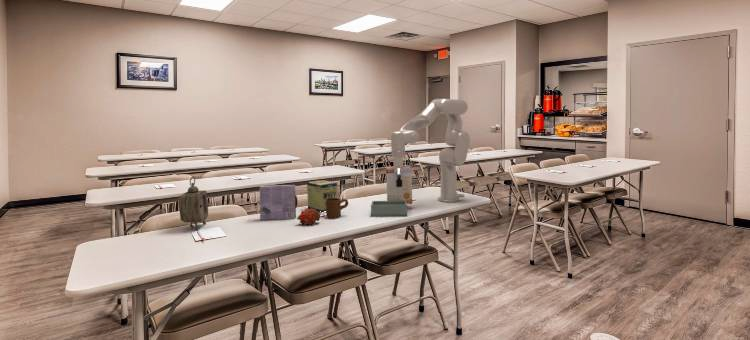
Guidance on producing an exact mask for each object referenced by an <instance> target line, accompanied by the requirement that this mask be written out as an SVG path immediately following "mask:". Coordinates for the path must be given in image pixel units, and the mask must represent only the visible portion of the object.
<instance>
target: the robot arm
mask: <svg viewBox="0 0 750 340" xmlns="http://www.w3.org/2000/svg"><path fill="white" fill-rule="evenodd" d="M468 108H469V107H468V102H466V101H465V100H464V99H457V98H456V99H455V98H454V99H453V98H435V99H433V100H431V102H429V103H428V105H426V107H425V108H424V109H423V110H422V111H421V112H420V114H418V115H416V116H415V117H413V118H411V119H410V120H409V121H407V122H406V123H405V124H403V125H402V127H401V128H400V129H398V130H397V131H396V130H395V131H392V132H391V133H390V147H391V148H390V150H391V157H392V158H393V161H392V162H393V166H394V175H395V174H396V175H397V180H396V187H402V176H400V175H402V174H403V166H404V157H406V144H408V145H409V144H410V145H413V144H416V143H417V142H418V141H419V140H420V135H419V133H418V132H417V131H418V130H420V129H425V128H427V127H429V126H431V125H432V123H433V122H434V121H435V120H436V119H437V118H438V117H439V116H440V115H442V114H443V115H444V114H445V116H446V118H447V121H448V122H447V127H446V132H445V137H444V142H445V145H447V146H449V147H446V148H445V147H444V148H443V149H440V151H439V154H438V159H439V160H438V161H439V165H440V196H438V198H437V200H438V202H443V203H456V202H459V201H460V198H465V193H464V194H462V193H458V191H457V185H458V184H457V177H458V176H457V174H458V173H457V167H456V166H462V165H463V164H465V162H466V160H467V156H468V153H469V147H470V141H471V137H470V135H469V133H468V132H467V131H465V130H462V129H463V118H462V116H461V115H464V114H466V112H467V111H468ZM450 147H451V148H450ZM452 147H454V148H452ZM397 167H398V168H397ZM401 172H402V173H401ZM397 173H398V174H397ZM400 173H401V174H400Z"/></svg>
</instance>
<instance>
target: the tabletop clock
mask: <svg viewBox="0 0 750 340" xmlns="http://www.w3.org/2000/svg"><path fill="white" fill-rule="evenodd" d="M192 180H194V182H192ZM195 184H196V178H195V177H194V176H191V177H190V178H189V185H190V186H189V187H188V188H187V191H186V192H184V193H183V194H181V195H180V196H179V198H178V206H179V217H180V221H181V222H184V223H190V224H189V228H190V227H192V228H193V227H194V225H195V230H196V229H199V230H200V227H199V226H198V223H202V225H206V224H207V222H206V219H207V218H208V216H209V202H208V194H207V193H208V192H207V190H200V189H199V187H197V186H195ZM193 224H194V225H193Z"/></svg>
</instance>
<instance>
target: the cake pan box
mask: <svg viewBox="0 0 750 340" xmlns="http://www.w3.org/2000/svg"><path fill="white" fill-rule="evenodd" d="M297 206H298V197H297V194H296V185H295V184H280V185H279V184H277V185H276V184H275V185H260V186H259V219H260V221H274V220H275V221H277V220H281V221H282V220H295V219H294V218H296V219H297Z"/></svg>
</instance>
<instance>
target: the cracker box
mask: <svg viewBox="0 0 750 340" xmlns="http://www.w3.org/2000/svg"><path fill="white" fill-rule="evenodd" d="M397 168H398V167H397ZM401 173H402V172H401ZM401 173H400V174H401ZM397 174H398V173H397ZM385 176H386V177H385V178H386V201H406V202H407V205H408V204H409V205H411V204H413V185H412V184H413V182H412V178H413V177H412V165H403V174H402V175H400V176H402V187H396V180H397V175H396V174H395V175H394V165H393V166H392V165H391V166H386V168H385Z"/></svg>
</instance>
